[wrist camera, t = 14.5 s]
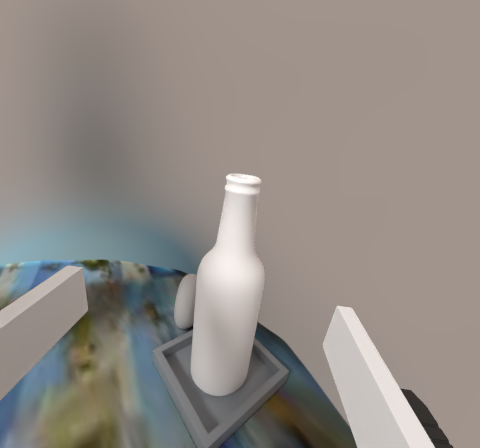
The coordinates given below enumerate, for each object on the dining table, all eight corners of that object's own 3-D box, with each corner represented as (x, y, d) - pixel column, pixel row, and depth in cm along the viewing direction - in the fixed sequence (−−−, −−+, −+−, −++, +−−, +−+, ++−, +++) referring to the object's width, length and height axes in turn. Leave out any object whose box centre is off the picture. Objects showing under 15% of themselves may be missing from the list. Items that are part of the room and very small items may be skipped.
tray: (152, 361, 35) (152, 349, 34) (227, 321, 45) (228, 311, 44) (203, 463, 25) (205, 449, 24) (286, 382, 35) (289, 371, 34)
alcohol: (241, 343, 39) (270, 174, 29) (252, 396, 31) (297, 188, 21) (191, 346, 38) (203, 167, 27) (189, 403, 30) (205, 179, 19)
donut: (184, 303, 48) (186, 263, 45) (200, 304, 48) (203, 265, 45) (170, 341, 39) (171, 294, 35) (190, 343, 39) (193, 297, 36)
